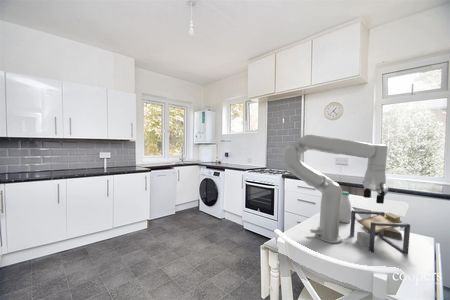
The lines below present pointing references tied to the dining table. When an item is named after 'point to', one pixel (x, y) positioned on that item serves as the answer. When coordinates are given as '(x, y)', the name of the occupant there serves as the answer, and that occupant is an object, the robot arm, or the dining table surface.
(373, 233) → the frame
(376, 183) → the robot arm
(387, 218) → the trapdoor
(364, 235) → the granite block
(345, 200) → the milk bottle
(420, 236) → the dining table surface
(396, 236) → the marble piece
